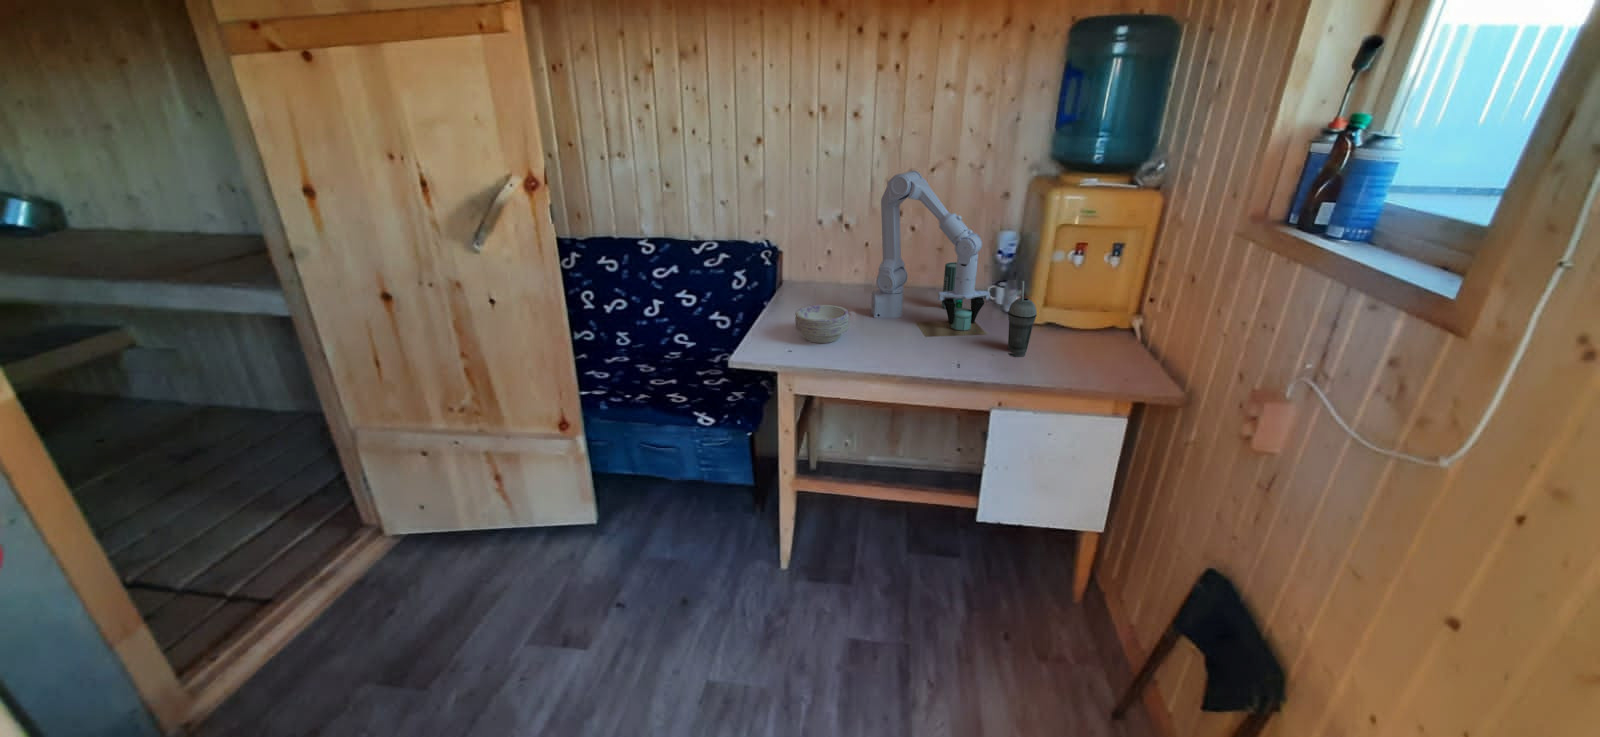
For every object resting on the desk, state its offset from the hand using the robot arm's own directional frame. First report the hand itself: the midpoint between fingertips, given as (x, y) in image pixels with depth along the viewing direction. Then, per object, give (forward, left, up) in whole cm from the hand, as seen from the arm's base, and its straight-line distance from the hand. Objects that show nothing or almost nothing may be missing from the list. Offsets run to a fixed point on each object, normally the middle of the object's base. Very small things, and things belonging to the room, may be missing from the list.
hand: (961, 322), depth 191 cm
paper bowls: (-41, -1, -3) cm, 41 cm away
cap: (0, 0, -1) cm, 1 cm away
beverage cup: (+10, -18, -3) cm, 21 cm away
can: (+3, +19, -3) cm, 19 cm away
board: (-3, 0, -3) cm, 4 cm away
